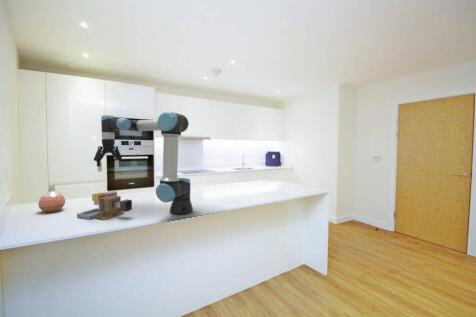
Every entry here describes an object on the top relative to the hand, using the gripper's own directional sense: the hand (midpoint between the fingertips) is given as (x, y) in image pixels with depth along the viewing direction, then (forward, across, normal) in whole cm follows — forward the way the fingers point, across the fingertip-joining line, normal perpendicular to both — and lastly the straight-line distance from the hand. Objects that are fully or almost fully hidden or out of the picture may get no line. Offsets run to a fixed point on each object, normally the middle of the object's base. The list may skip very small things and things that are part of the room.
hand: (108, 170), depth 153 cm
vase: (+27, +16, -32) cm, 45 cm away
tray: (+27, +13, +1) cm, 30 cm away
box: (+27, -1, -2) cm, 27 cm away
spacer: (+18, +10, +3) cm, 20 cm away
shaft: (+22, +10, +13) cm, 28 cm away
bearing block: (+27, +10, +11) cm, 31 cm away
